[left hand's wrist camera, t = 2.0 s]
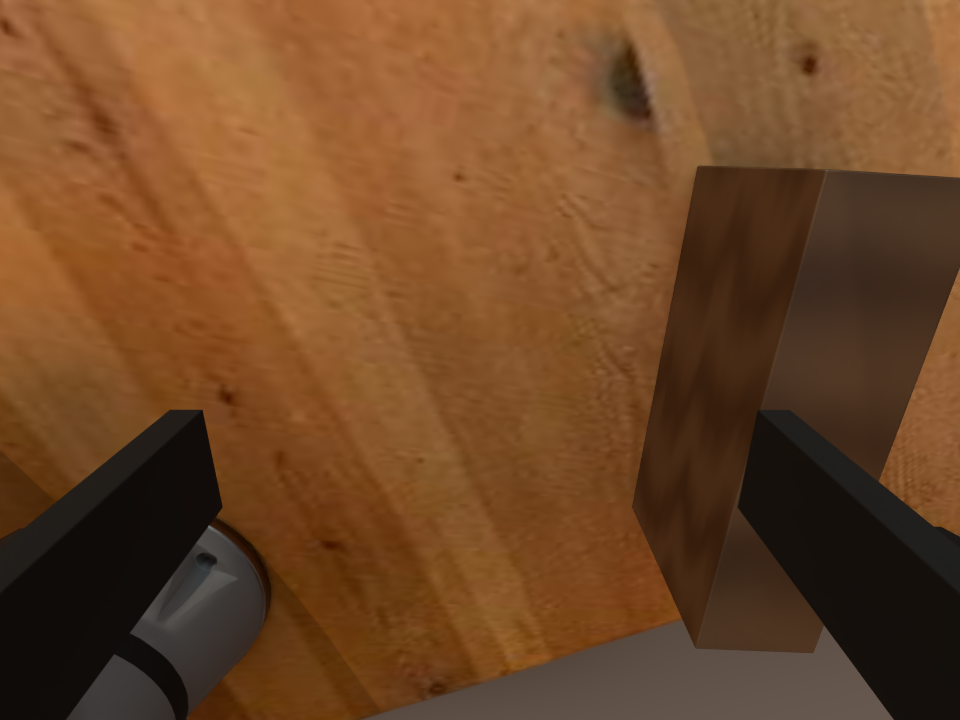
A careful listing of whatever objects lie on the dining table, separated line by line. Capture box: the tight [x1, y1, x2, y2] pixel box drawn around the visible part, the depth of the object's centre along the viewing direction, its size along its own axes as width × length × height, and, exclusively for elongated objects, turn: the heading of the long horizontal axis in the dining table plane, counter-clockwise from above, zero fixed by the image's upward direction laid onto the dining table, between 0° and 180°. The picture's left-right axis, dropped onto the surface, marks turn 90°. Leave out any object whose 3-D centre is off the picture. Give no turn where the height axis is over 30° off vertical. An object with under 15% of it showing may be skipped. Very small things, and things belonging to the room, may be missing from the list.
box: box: [632, 166, 960, 653], centre depth 28 cm, size 23×6×12 cm, turn 177°
